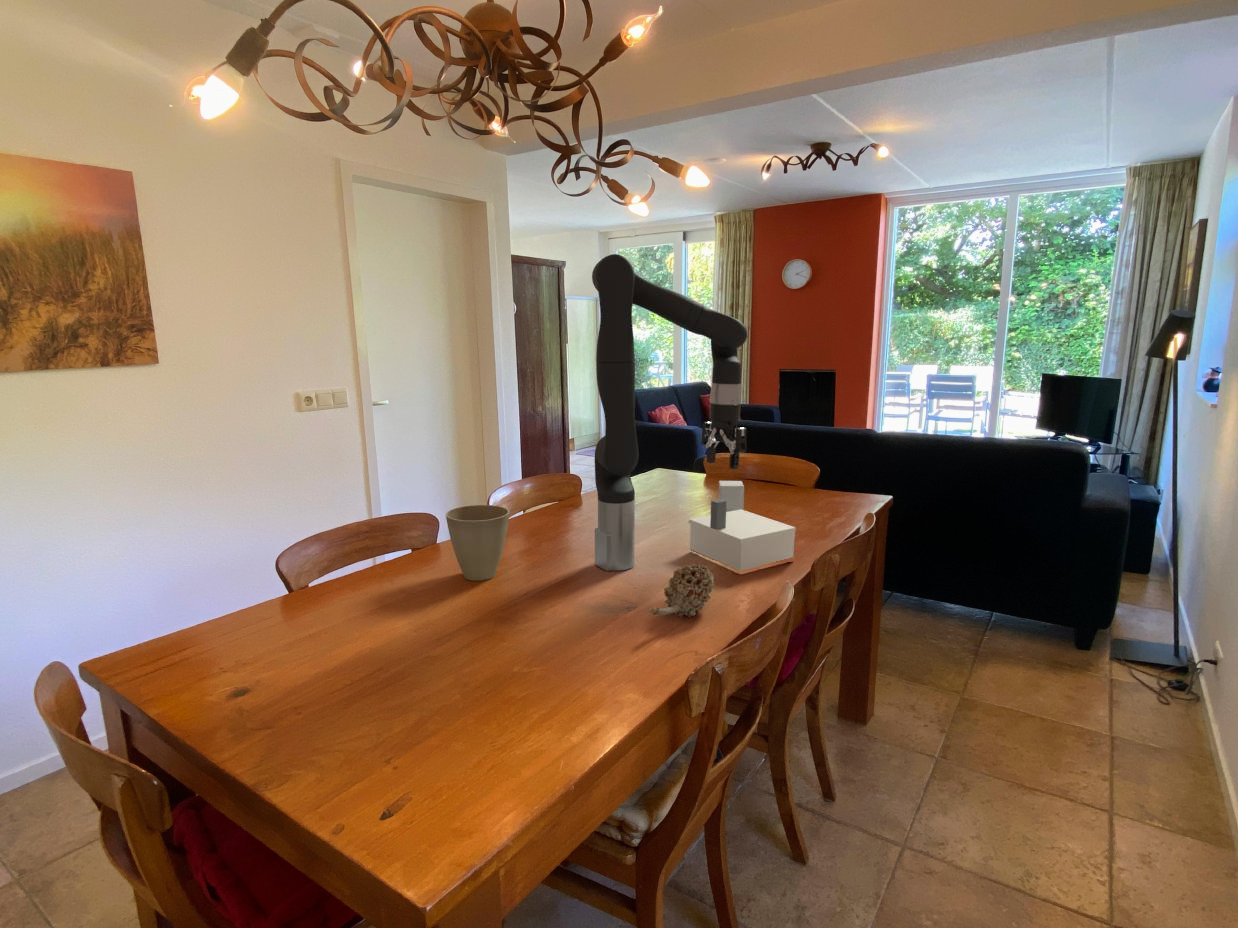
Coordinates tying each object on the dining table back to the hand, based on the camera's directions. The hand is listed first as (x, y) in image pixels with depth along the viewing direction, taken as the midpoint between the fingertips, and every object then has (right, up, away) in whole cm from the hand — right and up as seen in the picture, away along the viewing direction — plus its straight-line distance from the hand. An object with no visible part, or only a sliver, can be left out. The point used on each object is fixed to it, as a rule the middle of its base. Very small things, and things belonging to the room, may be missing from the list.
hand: (722, 465), depth 165 cm
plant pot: (-60, -27, -6) cm, 66 cm away
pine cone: (-13, -32, -30) cm, 46 cm away
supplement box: (+9, -18, +38) cm, 43 cm away
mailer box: (+6, -24, +7) cm, 26 cm away
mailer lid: (+6, -16, +5) cm, 18 cm away
